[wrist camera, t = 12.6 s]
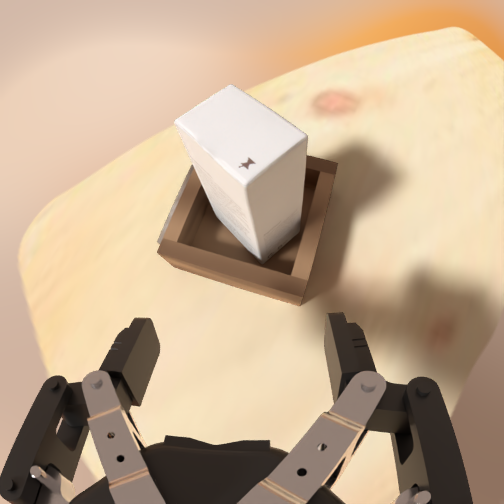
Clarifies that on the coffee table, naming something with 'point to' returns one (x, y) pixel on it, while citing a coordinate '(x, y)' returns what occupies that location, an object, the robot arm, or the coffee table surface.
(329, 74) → the coffee table surface
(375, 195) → the coffee table surface
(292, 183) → the skincare box
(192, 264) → the box
